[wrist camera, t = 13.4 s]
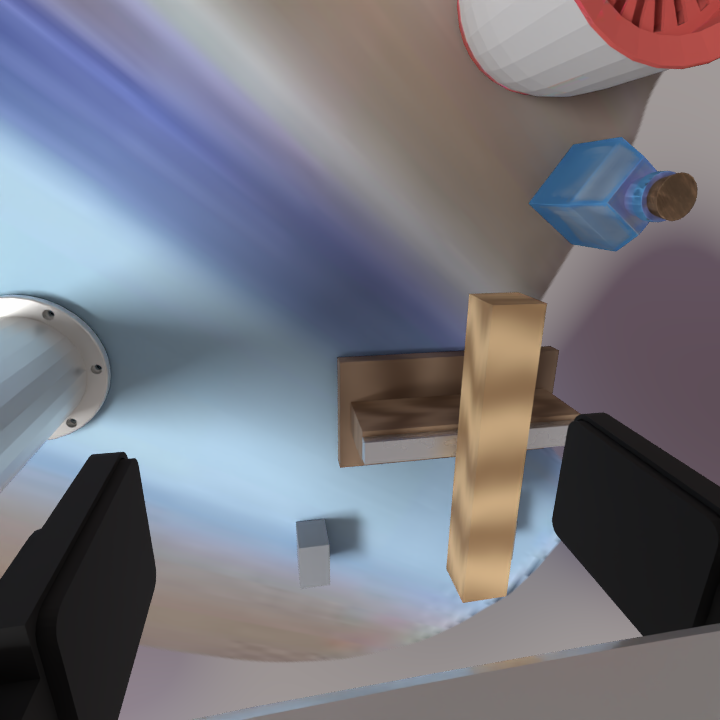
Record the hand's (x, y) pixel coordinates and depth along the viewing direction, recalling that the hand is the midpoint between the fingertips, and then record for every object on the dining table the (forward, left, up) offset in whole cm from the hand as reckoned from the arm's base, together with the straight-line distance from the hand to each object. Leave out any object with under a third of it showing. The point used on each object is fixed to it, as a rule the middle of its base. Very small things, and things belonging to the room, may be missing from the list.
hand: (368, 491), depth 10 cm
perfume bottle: (+26, +6, -34) cm, 43 cm away
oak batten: (+15, -14, -25) cm, 32 cm away
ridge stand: (+15, -14, -33) cm, 39 cm away
